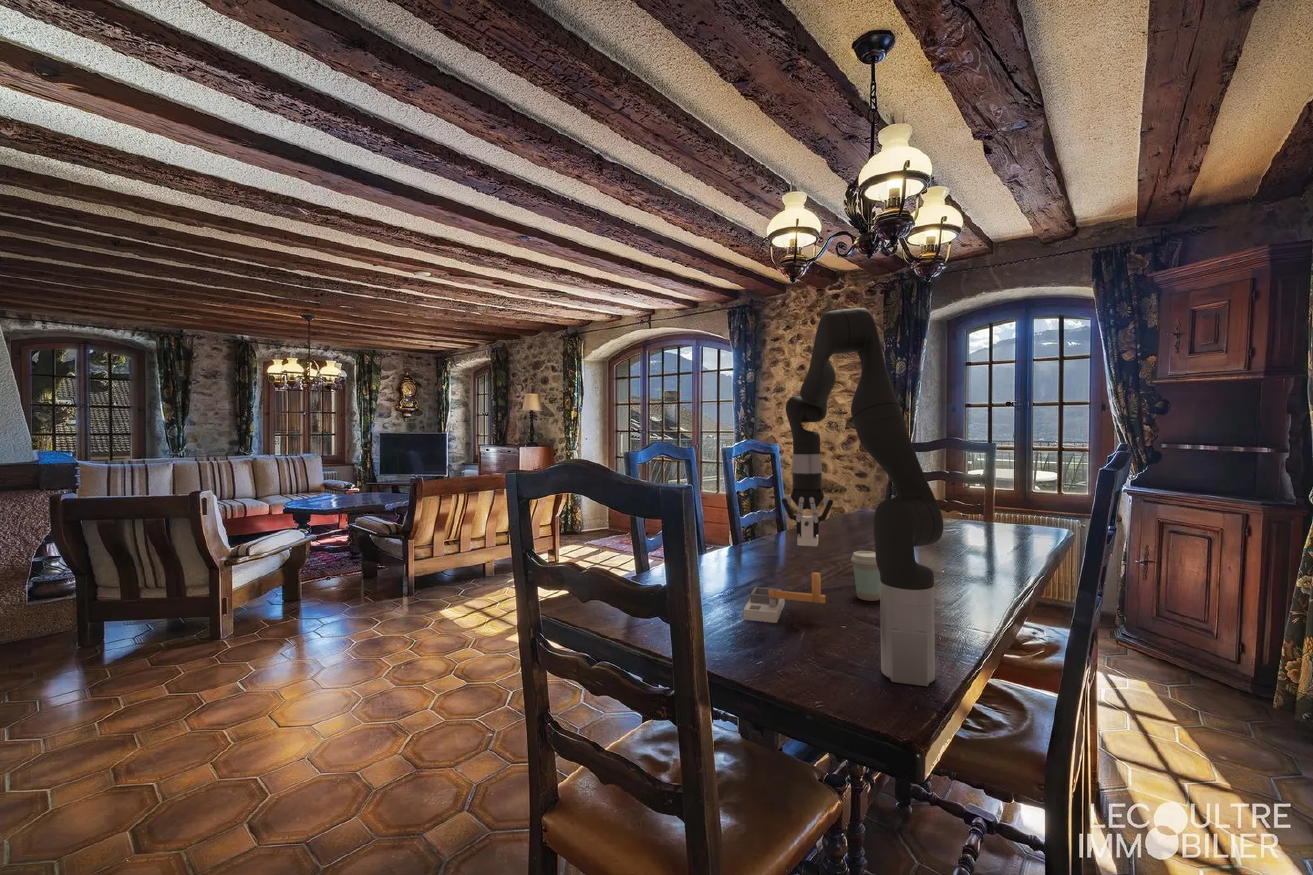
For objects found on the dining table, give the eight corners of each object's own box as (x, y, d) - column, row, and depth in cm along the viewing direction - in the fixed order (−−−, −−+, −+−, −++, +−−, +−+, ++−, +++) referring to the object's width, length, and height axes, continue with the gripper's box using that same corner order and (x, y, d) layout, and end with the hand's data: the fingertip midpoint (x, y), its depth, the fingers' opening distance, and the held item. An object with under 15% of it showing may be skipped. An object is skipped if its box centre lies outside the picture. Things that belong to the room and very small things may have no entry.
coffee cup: (887, 595, 152) (887, 552, 151) (881, 604, 144) (881, 558, 144) (855, 591, 156) (855, 549, 156) (848, 599, 149) (847, 555, 149)
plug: (816, 547, 141) (816, 520, 141) (796, 546, 143) (796, 520, 143) (818, 541, 147) (818, 515, 147) (799, 540, 149) (798, 515, 149)
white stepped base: (776, 622, 132) (776, 604, 132) (743, 619, 134) (743, 601, 134) (784, 604, 146) (784, 587, 146) (754, 601, 148) (754, 584, 148)
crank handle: (767, 597, 136) (767, 570, 136) (769, 595, 138) (769, 568, 138) (824, 603, 131) (824, 575, 130) (825, 601, 132) (825, 573, 132)
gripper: (835, 470, 147) (836, 534, 147) (781, 469, 152) (782, 532, 152) (834, 472, 140) (835, 540, 140) (778, 471, 144) (779, 537, 145)
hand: (807, 535), depth 146 cm, fingers closed on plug, 3 cm apart
